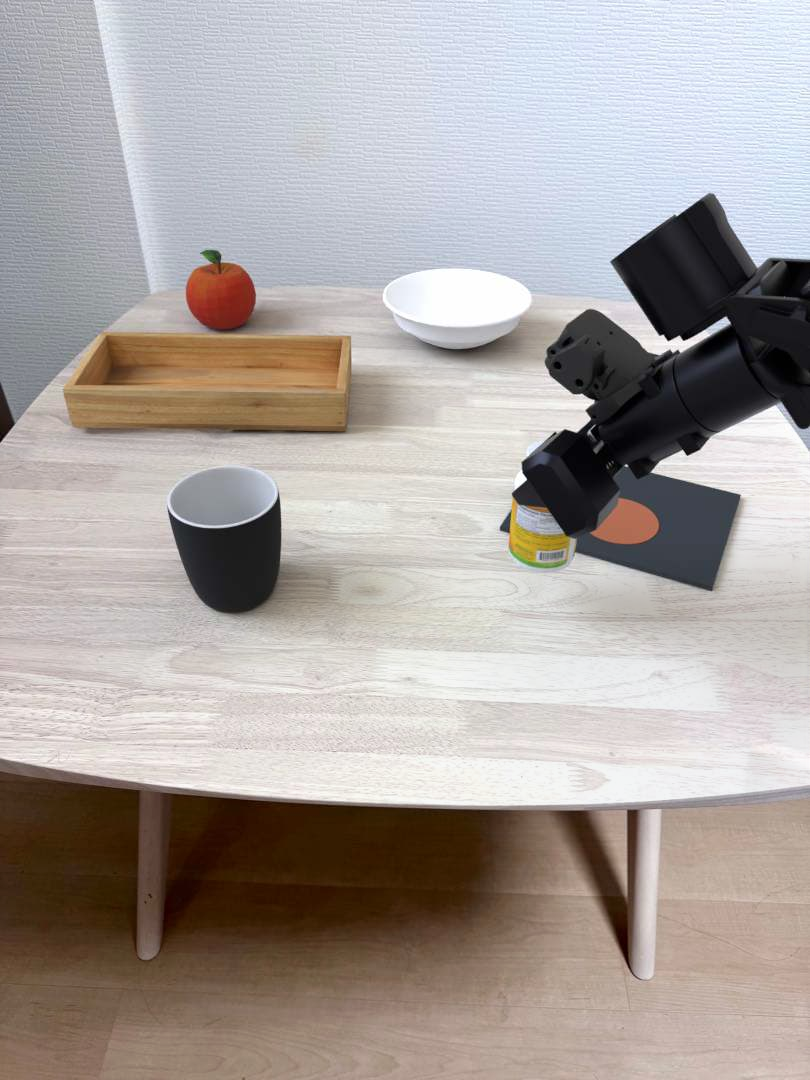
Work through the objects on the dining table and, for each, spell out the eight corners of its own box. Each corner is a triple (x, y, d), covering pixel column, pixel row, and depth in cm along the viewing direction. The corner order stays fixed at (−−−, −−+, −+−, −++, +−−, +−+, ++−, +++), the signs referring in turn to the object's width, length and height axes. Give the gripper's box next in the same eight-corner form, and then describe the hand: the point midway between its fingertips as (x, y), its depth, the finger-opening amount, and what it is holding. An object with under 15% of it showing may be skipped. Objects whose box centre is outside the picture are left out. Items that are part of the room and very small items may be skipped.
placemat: (739, 498, 86) (741, 493, 86) (711, 591, 75) (713, 586, 74) (551, 451, 93) (552, 447, 93) (499, 530, 82) (500, 525, 81)
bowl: (397, 378, 107) (398, 330, 103) (371, 316, 122) (371, 272, 118) (547, 365, 110) (553, 318, 106) (504, 306, 125) (507, 263, 121)
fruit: (213, 344, 114) (203, 271, 108) (178, 322, 120) (166, 251, 114) (272, 326, 119) (266, 255, 113) (236, 305, 125) (228, 237, 119)
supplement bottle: (532, 526, 73) (543, 427, 67) (586, 552, 70) (603, 450, 64) (494, 556, 69) (502, 454, 63) (550, 584, 66) (564, 480, 61)
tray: (352, 373, 108) (350, 331, 104) (346, 434, 96) (345, 389, 92) (109, 373, 107) (100, 330, 104) (73, 434, 95) (61, 388, 92)
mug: (309, 588, 75) (301, 493, 68) (227, 640, 69) (210, 542, 63) (226, 531, 81) (212, 440, 75) (145, 574, 76) (123, 480, 70)
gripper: (684, 246, 60) (531, 353, 71) (567, 336, 47) (405, 448, 59) (769, 377, 61) (605, 461, 73) (675, 498, 49) (496, 576, 60)
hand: (533, 481), depth 66 cm, fingers closed on supplement bottle, 5 cm apart
